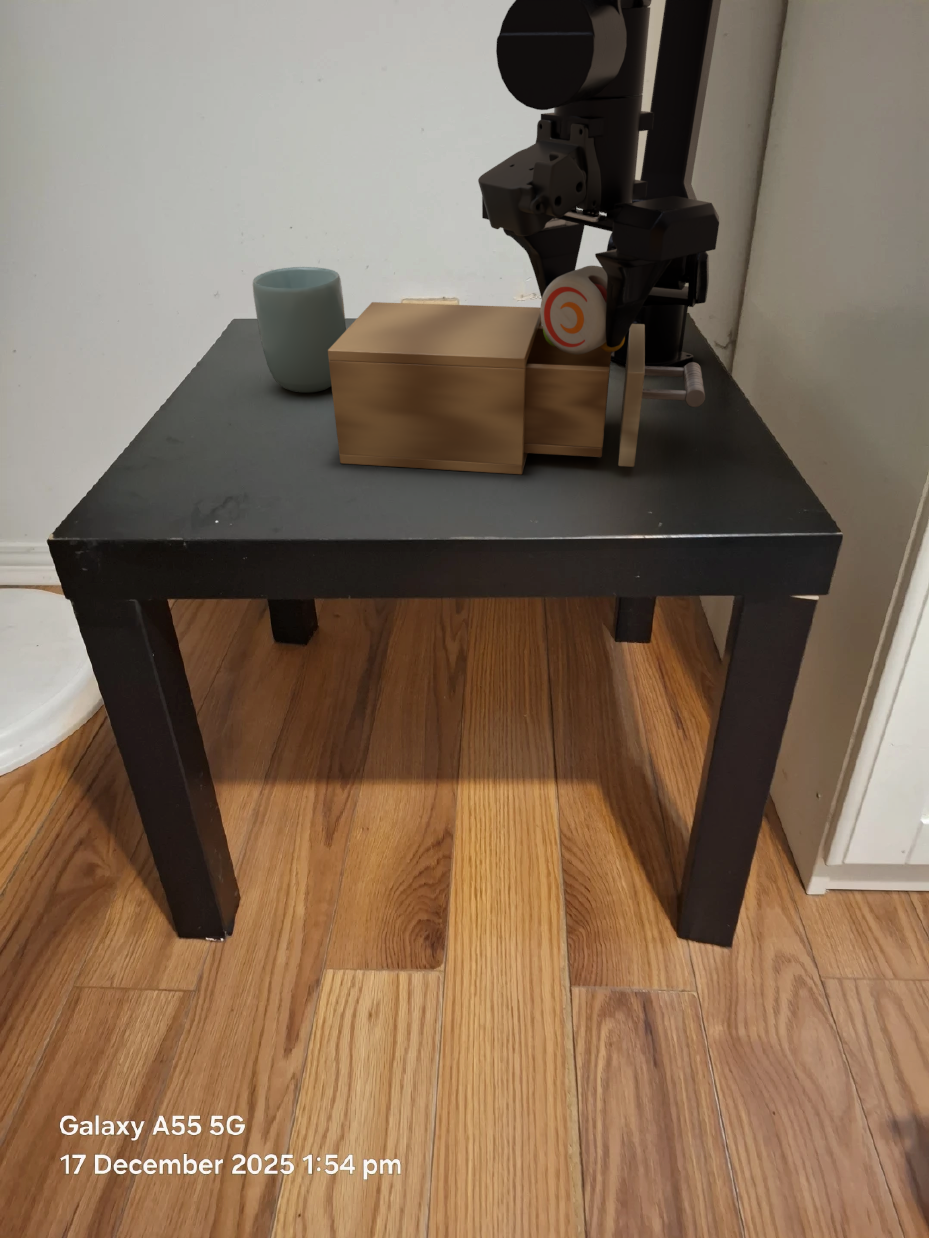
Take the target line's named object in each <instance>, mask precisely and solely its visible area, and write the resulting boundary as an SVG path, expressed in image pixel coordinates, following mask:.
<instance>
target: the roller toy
mask: <svg viewBox="0 0 929 1238" xmlns="http://www.w3.org/2000/svg"><path fill="white" fill-rule="evenodd" d="M606 301H607V274H606V272H605V270H604V269H603V267H602V266H601V265H600V266H599V265H587V266H583V267H581V268H578V269H575V270H574V271H571V272H569V273H566V274H564V275H561V276H559V277H557V278H556V279H555V280H553V281H552V282H551V283H550V284H549V285H548V287H547V288H546V290H545V292H544V294H543V297H542V298H541V301H540V314H541V322H542V326H543V333H544V337H545V339H546V341H547V342H548V343H549V344H550V345H552V346H554V347H557V348H559V349H560V350H562V351H563V352H566V353H569V354H574V355H579V354H584V353H587V352H590V351H592V350H594V349H596V348H598V347H601V348H602V349H603V350H605V351H607V352H614V351H617V350H618V349H620V348H621V347H622V345H623V344H624V341H625V337H624V339H623V341H622V343H621V344H620V345H619V346H616V347H612V348H610V347H608V346H607V344H606Z"/></svg>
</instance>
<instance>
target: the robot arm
mask: <svg viewBox="0 0 929 1238" xmlns="http://www.w3.org/2000/svg"><path fill="white" fill-rule="evenodd" d="M652 1H653V0H514V1H513V3H512V4H511V6H510V7H509V8H508V10H507V12H506V14H505V16H504V18H503V20H502V22H501V26H500V31H499V34H498V36H497V38H496V48H495V49H496V50H495V53H496V61H497V62H496V64H497V68H498V71H499V74H500V77H501V80H502V82H503V84H504V85H505V88H506V89H507V91H508V92H509V93H510V94H511V96H513V97H514V99H515V100H516V101H518V102H519V103H520V104H522V105H524V106H525V107H527V108H531V109H534V110H537V111H538V110H539V111H548V110H551V109H553V112H544V113H540V119H539V120H538V121H537V124H536V139H535V143H533V144H532V145H530V146H528V147H526V148H524V149H521V150H519V151H517V152H515V153H514V154H512V155H510V156H509V157H508V158H506V159H504V160H502V161H501V162H500V163H498V164H496V165H495V166H493V167H492V168H490V169H489V170H487V171H485V172H484V173H483V174H482V175H480V176H479V177H478V180H477V182H478V186H479V189H480V192H481V212H482V213H481V216H482V219H483V220H484V219H485V220H488V221H489V224H490V227H491V228H492V229H495V230H500V229H502V230H503V232H504V234H505V235H506V236H507V237H510V238H512V239H513V240H514V241H515V242H516V243H517V244H518V245H519V246H520V247H521V248H522V249H523V250H524V251H525V252H526V254H527V256H528V259H529V262H530V264H531V267H532V270H533V273H534V277H535V280H536V283H537V287H538V290H539V294H540V298H541V299H542V297H543V294H544V292H545V290H546V288H547V287H548V285H549V284H550V283H551V282H552V281H553V280H555V279H556V278H557V277H559V276H561V275H564V274H566V273H569V272H571V271H574V270H576V267H577V263H578V259H579V255H580V249H581V244H582V240H583V235H584V231H585V226H586V227H589V228H590V227H591V228H596V229H599V230H604V231H607V232H611V233H610V235H609V238H608V242H607V247H606V251H601V252H595V253H594V256H595V258H596V260H597V261H598V263H599V264H600V267H603V269H604V270H605V272H606V274H607V301H606V344H607V346H608V347H610V348H612V347H616V346H619V345H620V344H621V343H622V341H623V339H624V337H625V341H624V344H623V345H622V347H621V348H620V349H618V350H617V351H614V352H611V361H614V362H616V363H619V364H621V365H624V366H626V359H627V349H628V338H629V328H630V327H631V325H632V324H644V325H645V366H655V367H678V366H680V365H683V364H688V363H691V362H694V355H693V354H691V353H688V352H686V351H683V348H684V341H685V340H684V339H685V333H686V332H685V331H686V325H687V318H688V312H689V311H688V309H689V308H694V307H695V306H696V305H699V304H705V303H706V302H707V297H708V293H709V284H710V283H709V282H710V281H709V280H710V261H709V259H710V258H709V257H710V256H709V254H708V252H710V251H714V250H716V249H717V241H718V235H719V228H720V215H719V213H718V212H717V210H716V208H715V207H714V205H713V203H712V202H710V201H704V200H698V199H697V196H696V194H695V190H694V187H693V185H692V183H693V175H694V169H695V163H696V157H697V150H698V145H699V138H700V132H701V127H702V120H703V114H704V108H705V101H706V96H707V89H708V84H709V78H710V77H709V76H710V71H711V65H712V59H713V52H714V46H715V41H716V34H717V28H718V23H719V16H720V9H721V3H722V0H665V2H664V7H663V8H664V9H663V16H662V23H661V28H660V29H661V31H660V36H659V37H660V38H659V44H658V51H657V59H656V65H655V73H654V82H653V88H652V94H651V103H650V109H649V111H646V110H642V108H643V107H642V106H643V98H644V97H643V96H644V95H643V94H644V84H645V72H646V62H647V50H648V38H649V28H650V19H651V18H650V16H651V4H652ZM644 131H645V132H646V136H645V137H646V140H645V145H644V146H645V147H644V152H643V159H642V167H641V174H640V179H636V174H637V163H638V162H637V160H638V151H639V141H640V140H639V139H640V132H644ZM686 284H687V285H686Z"/></svg>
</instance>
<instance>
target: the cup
mask: <svg viewBox="0 0 929 1238" xmlns="http://www.w3.org/2000/svg"><path fill="white" fill-rule="evenodd" d="M341 279H342V278H341V276H340V273H338V271H336V270H333V269H329V268H326V267H325V268H324V267H318V266H317V267H315V266H293V267H292V266H291V267H282V268H277V269H272V270H268V271H265V272H263V273H260V274H258V275H256V276H255V277H254V278H253V279H252V284H251V286H252V287H251V288H252V295H253V302H254V307H255V308H254V309H255V315H256V320H257V325H258V326H257V327H258V332H259V337H260V342H261V346H262V351H263V354H264V355H263V356H264V359H265V361H266V365H267V368H268V370H269V373H270V374H271V376H272V378H273V379H274V380H275V382H276V383H277V384H278V385H279V386H281V387H282V388H284V389H285V390H287V391H291V392H296V393H302V394H309V393H310V394H312V393H318V392H322V391H325V390H328V389H329V388H332V385H331V376H330V367H329V357H328V350H329V348H330V347H331V346H332V345H333V344H334V343H335V342H336V341H337V340H338V339H339V338H340V336H341V335H342V334H343V333H344V332H345V331H346V330H347V327H346V326H347V325H346V314H345V303H344V294H343V284H342V280H341Z"/></svg>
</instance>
